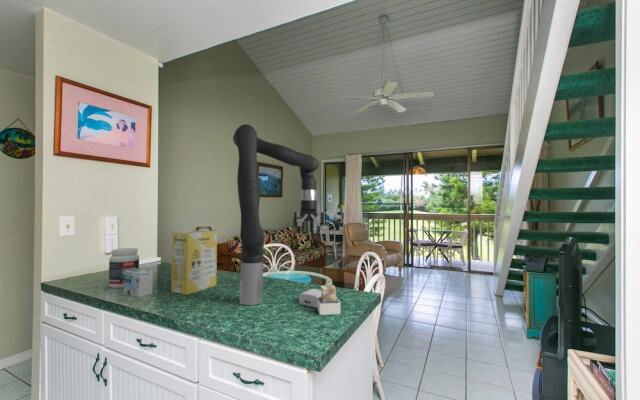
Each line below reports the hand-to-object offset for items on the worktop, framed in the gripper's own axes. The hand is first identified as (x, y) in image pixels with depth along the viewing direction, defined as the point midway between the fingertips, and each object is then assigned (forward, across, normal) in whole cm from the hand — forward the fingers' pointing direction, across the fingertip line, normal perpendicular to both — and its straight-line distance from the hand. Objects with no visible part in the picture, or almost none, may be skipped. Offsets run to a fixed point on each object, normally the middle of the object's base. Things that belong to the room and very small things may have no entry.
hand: (308, 234), depth 138 cm
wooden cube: (+24, +6, -22) cm, 33 cm away
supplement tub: (+28, -92, +26) cm, 100 cm away
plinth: (+28, +6, -22) cm, 36 cm away
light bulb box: (+28, -78, +10) cm, 84 cm away
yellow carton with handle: (+28, -55, +17) cm, 64 cm away
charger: (+29, +3, -9) cm, 30 cm away
